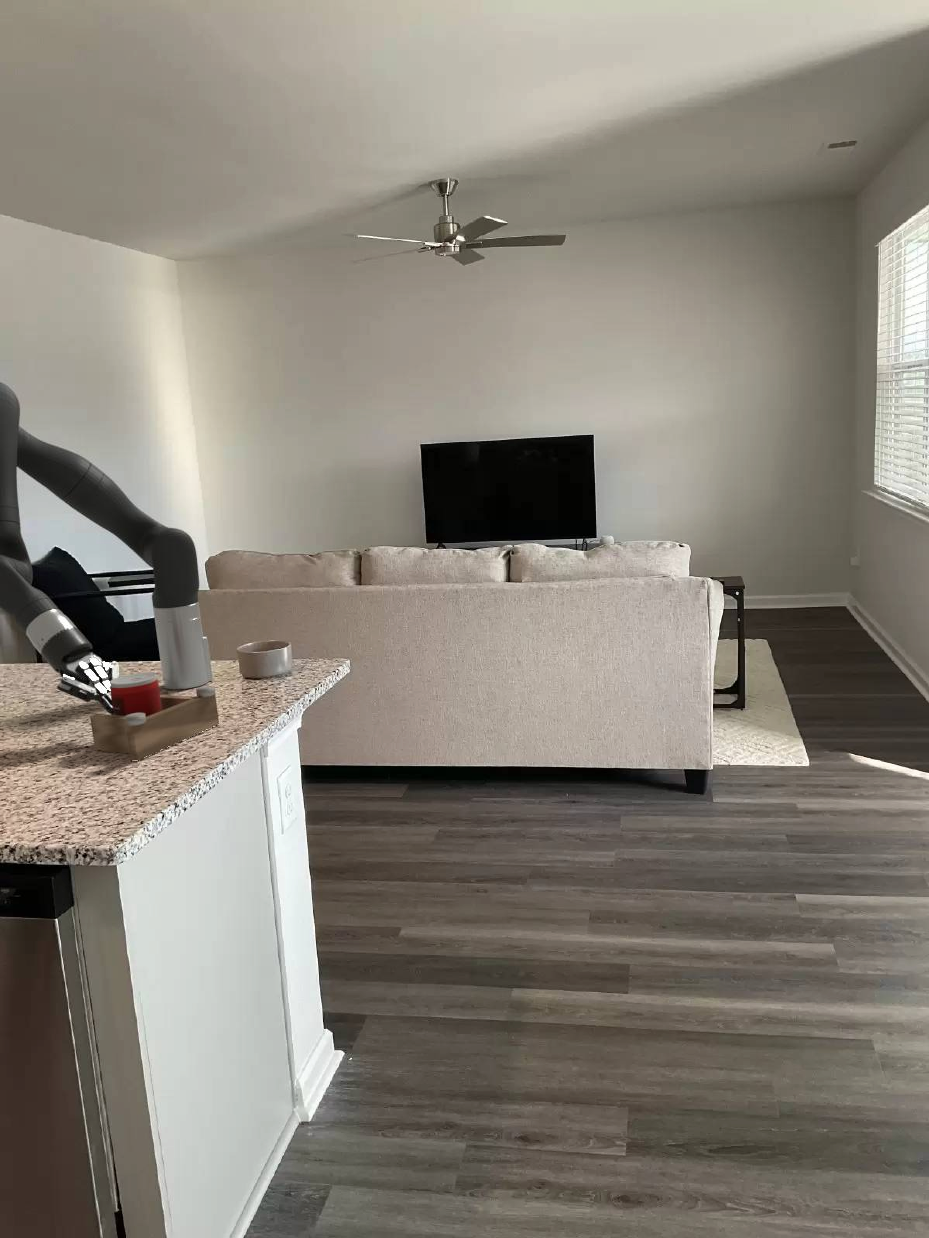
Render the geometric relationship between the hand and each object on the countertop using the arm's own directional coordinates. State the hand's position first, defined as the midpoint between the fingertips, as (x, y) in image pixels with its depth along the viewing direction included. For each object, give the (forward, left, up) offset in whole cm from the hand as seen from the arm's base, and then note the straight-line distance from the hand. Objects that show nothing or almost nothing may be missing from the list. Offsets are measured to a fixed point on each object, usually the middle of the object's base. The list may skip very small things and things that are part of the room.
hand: (119, 711), depth 172 cm
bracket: (-2, +6, -5) cm, 8 cm away
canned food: (-1, +4, -5) cm, 7 cm away
